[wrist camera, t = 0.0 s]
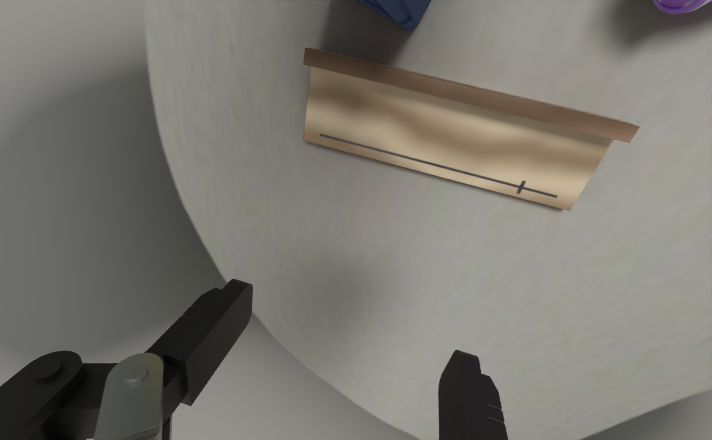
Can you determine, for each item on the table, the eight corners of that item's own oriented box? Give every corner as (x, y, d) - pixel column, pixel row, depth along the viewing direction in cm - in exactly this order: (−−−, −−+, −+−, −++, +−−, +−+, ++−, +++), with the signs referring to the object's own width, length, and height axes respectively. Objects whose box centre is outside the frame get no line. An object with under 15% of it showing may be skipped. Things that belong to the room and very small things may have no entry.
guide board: (317, 49, 34) (305, 48, 31) (616, 119, 31) (639, 126, 28) (307, 137, 39) (295, 145, 36) (564, 205, 36) (578, 221, 33)
